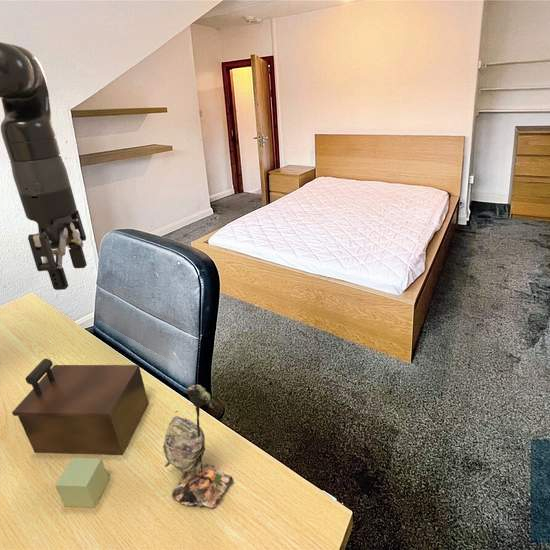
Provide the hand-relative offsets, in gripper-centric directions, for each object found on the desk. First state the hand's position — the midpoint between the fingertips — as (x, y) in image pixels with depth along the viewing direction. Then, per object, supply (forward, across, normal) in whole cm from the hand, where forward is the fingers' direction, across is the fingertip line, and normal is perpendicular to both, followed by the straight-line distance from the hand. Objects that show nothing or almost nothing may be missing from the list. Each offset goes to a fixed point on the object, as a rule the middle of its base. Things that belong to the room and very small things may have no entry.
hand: (71, 277), depth 72 cm
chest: (+29, +6, -1) cm, 30 cm away
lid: (+20, +6, -1) cm, 21 cm away
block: (+29, +21, +3) cm, 36 cm away
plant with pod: (+29, +21, +21) cm, 41 cm away
